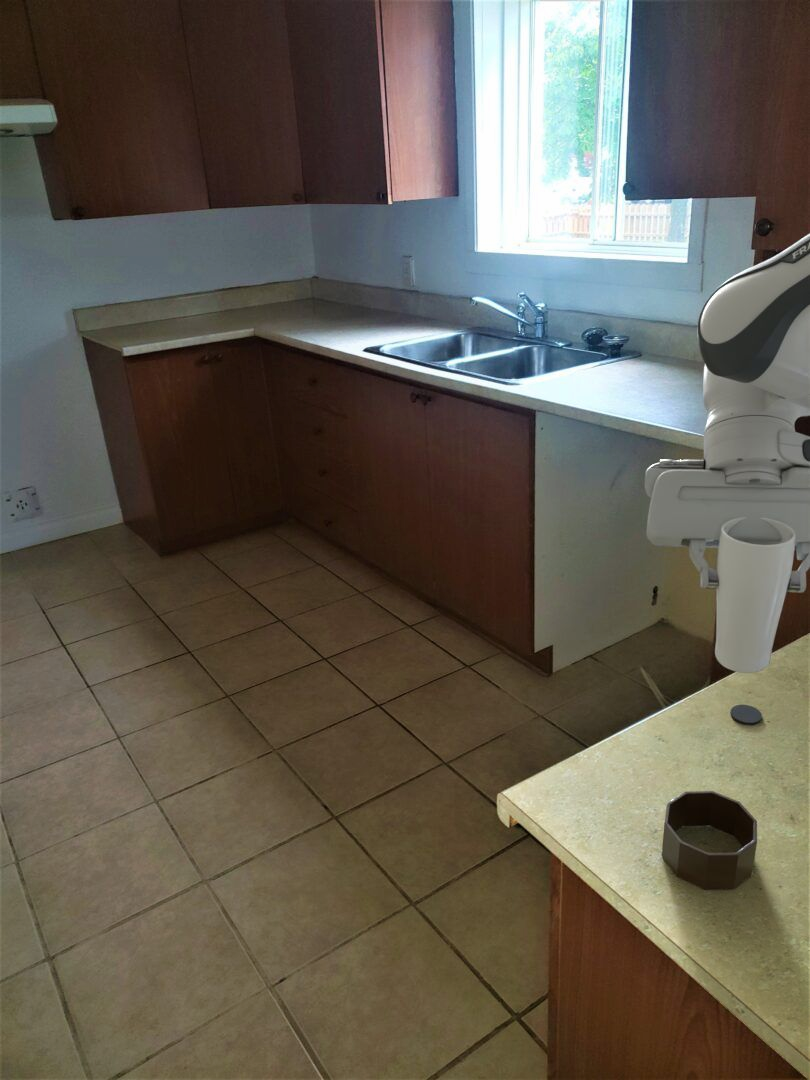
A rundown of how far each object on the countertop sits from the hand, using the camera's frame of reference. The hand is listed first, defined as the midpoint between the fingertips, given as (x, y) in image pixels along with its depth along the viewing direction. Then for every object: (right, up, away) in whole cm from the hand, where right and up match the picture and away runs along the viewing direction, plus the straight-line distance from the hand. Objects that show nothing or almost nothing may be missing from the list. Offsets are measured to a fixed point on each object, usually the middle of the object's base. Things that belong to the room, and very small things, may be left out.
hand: (752, 589), depth 80 cm
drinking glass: (+1, -8, +4) cm, 9 cm away
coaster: (+8, -17, +20) cm, 27 cm away
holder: (-4, -27, +1) cm, 27 cm away
